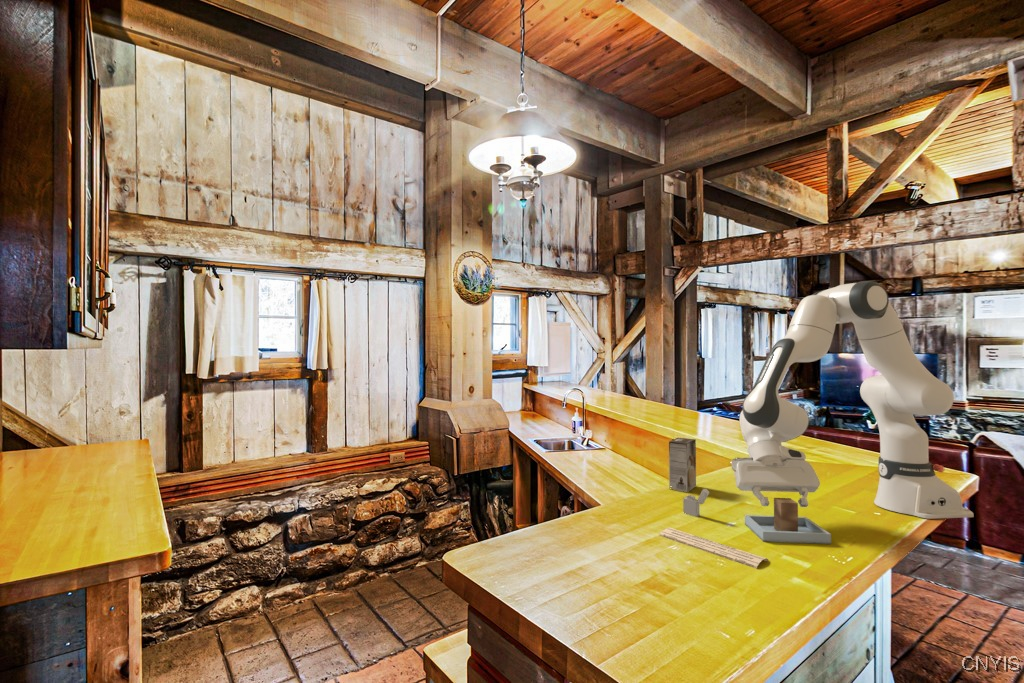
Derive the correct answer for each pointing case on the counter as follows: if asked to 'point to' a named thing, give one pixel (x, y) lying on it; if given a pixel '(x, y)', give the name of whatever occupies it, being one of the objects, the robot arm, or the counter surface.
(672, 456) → the coffee box
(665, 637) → the counter surface
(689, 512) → the lighter
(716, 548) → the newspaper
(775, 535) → the slate tray
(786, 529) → the walnut block
